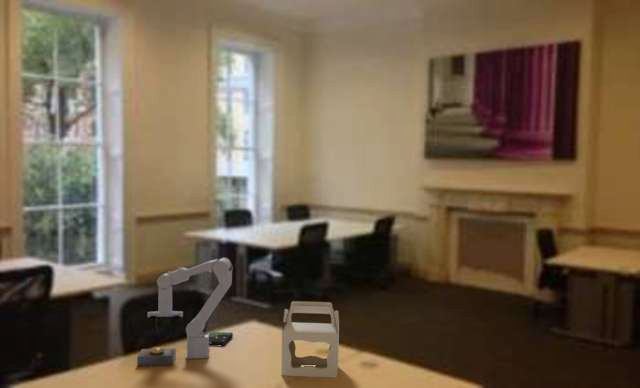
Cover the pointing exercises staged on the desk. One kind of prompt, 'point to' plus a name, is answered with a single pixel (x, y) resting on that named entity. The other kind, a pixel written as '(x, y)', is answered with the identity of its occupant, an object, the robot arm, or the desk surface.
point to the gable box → (310, 334)
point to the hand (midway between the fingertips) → (165, 333)
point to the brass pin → (156, 350)
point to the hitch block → (156, 358)
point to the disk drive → (219, 338)
